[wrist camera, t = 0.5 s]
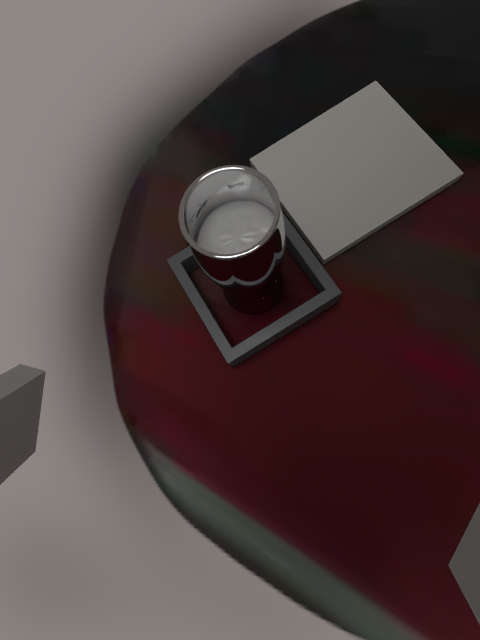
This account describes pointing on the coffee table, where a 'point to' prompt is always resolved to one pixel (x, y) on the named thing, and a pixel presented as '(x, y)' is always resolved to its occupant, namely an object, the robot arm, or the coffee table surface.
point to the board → (354, 171)
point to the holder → (300, 315)
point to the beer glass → (237, 234)
